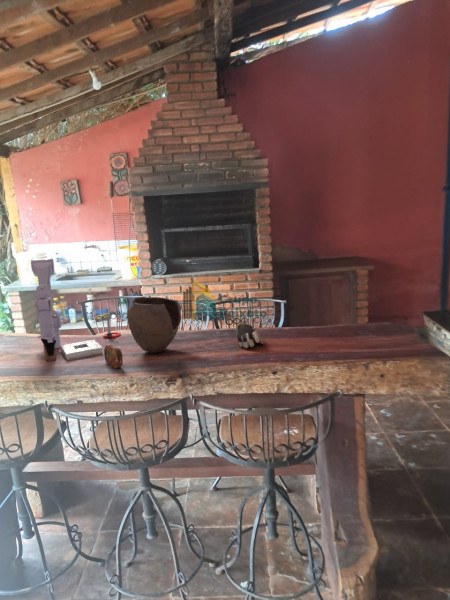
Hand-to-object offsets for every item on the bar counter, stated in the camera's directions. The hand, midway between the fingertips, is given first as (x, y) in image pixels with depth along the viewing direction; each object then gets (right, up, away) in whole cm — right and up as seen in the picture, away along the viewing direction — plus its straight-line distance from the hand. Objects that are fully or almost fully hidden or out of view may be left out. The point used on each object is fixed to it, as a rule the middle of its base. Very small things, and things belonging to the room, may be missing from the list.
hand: (50, 354), depth 204 cm
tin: (+32, -4, -12) cm, 34 cm away
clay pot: (+48, +1, +4) cm, 48 cm away
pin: (0, -2, 0) cm, 2 cm away
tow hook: (+19, +5, +35) cm, 41 cm away
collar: (+11, 0, +9) cm, 14 cm away
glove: (+90, +4, +11) cm, 91 cm away
